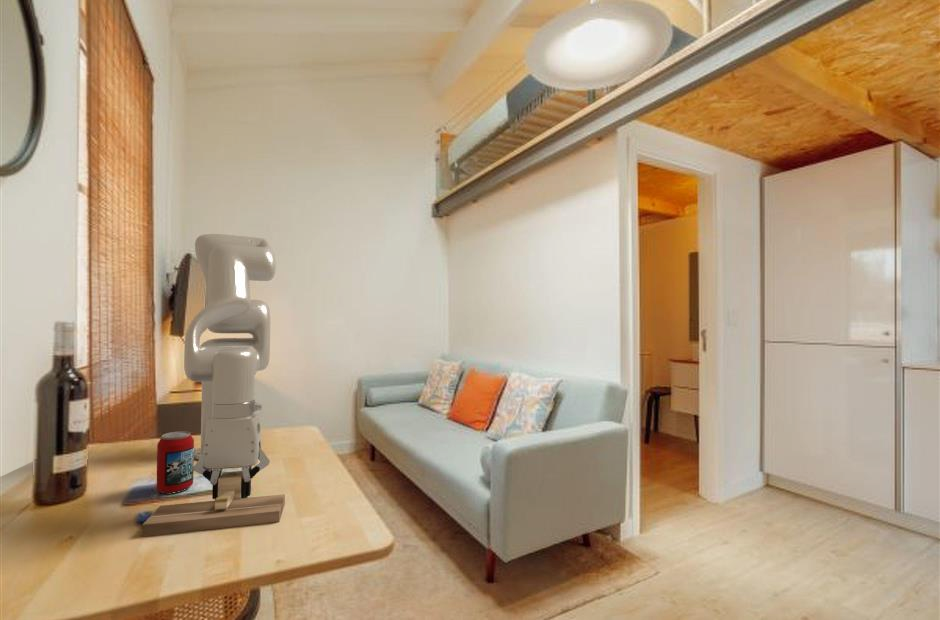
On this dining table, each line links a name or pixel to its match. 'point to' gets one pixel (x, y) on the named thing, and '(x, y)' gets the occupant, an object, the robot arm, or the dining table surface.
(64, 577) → the dining table surface
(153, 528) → the board
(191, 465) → the beverage can
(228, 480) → the block
